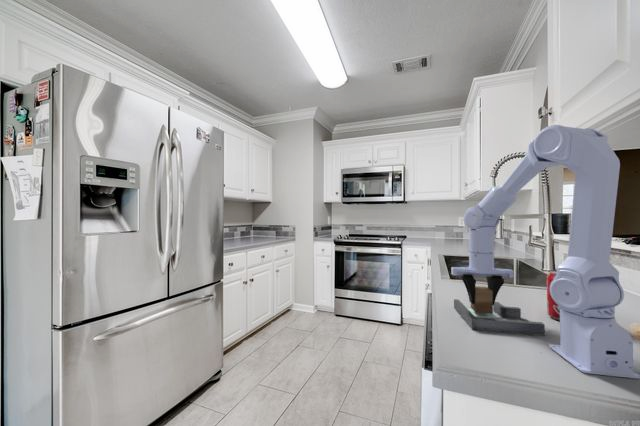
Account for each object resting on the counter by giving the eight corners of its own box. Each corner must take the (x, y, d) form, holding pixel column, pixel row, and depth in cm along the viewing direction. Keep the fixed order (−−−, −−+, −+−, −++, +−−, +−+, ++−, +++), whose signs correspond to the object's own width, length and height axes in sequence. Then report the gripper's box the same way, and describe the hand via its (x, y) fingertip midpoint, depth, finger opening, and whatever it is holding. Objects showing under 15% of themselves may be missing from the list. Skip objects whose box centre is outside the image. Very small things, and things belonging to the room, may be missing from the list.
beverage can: (586, 324, 65) (585, 275, 65) (557, 322, 66) (556, 274, 66) (568, 315, 71) (567, 270, 71) (541, 313, 72) (541, 269, 73)
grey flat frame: (544, 335, 59) (544, 324, 59) (471, 329, 62) (471, 318, 62) (511, 311, 74) (511, 302, 74) (454, 307, 77) (453, 299, 77)
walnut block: (492, 313, 69) (492, 290, 69) (475, 312, 70) (475, 289, 70) (486, 308, 73) (486, 286, 73) (470, 307, 74) (470, 286, 74)
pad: (497, 318, 69) (497, 317, 69) (471, 316, 70) (471, 315, 70) (488, 310, 75) (488, 309, 75) (464, 309, 76) (464, 308, 76)
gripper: (504, 251, 74) (505, 300, 74) (448, 249, 77) (448, 296, 77) (517, 254, 67) (518, 309, 67) (455, 253, 70) (455, 304, 70)
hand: (481, 303), depth 71 cm, fingers closed on walnut block, 4 cm apart
